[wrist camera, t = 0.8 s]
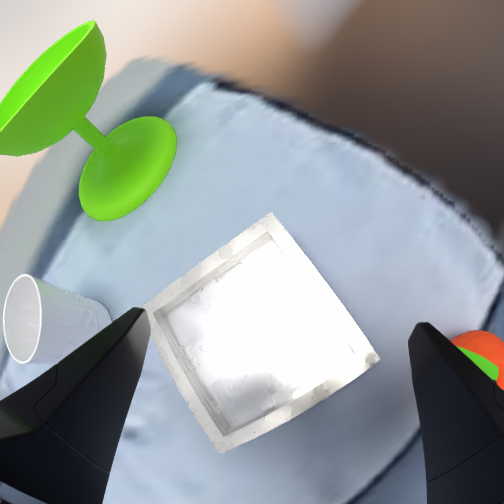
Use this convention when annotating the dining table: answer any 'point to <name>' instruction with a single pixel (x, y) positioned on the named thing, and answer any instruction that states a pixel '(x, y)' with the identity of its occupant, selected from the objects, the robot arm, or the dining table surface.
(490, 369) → the clementine
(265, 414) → the tray
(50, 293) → the white cup
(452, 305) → the dining table surface
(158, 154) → the wineglass
